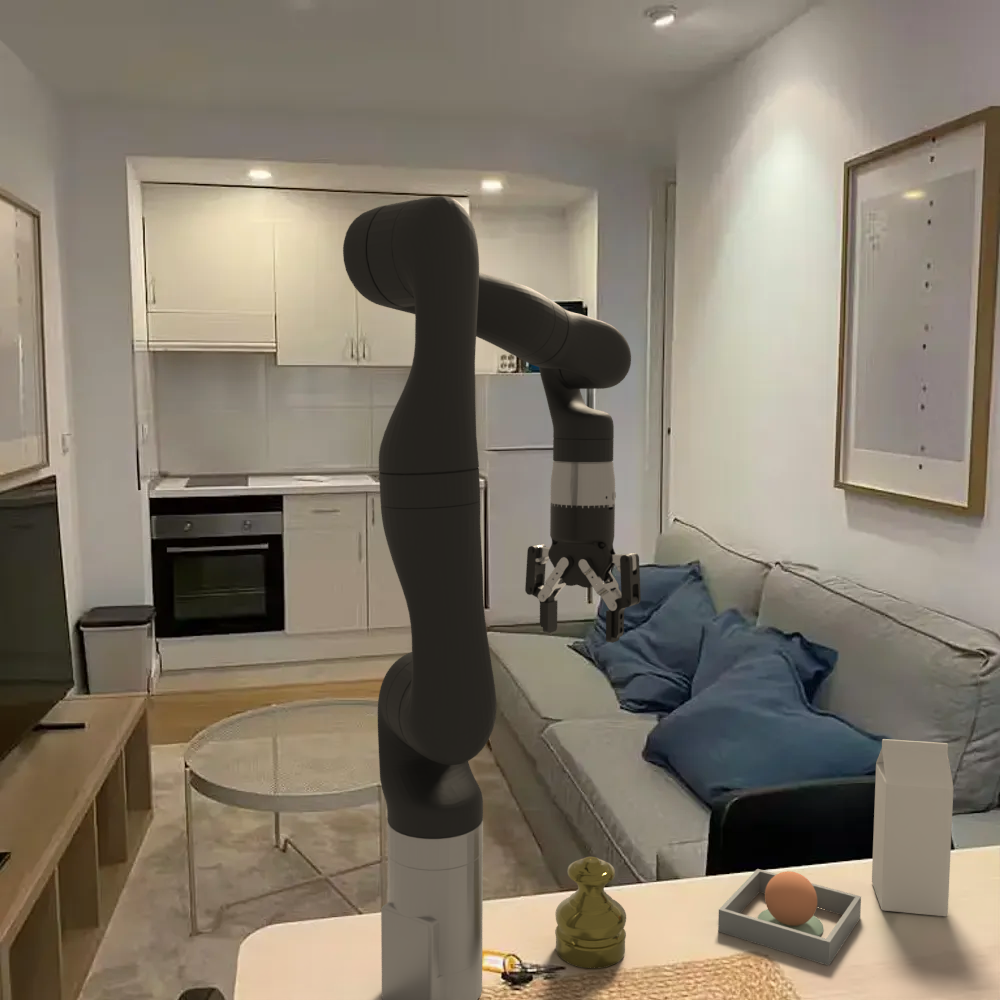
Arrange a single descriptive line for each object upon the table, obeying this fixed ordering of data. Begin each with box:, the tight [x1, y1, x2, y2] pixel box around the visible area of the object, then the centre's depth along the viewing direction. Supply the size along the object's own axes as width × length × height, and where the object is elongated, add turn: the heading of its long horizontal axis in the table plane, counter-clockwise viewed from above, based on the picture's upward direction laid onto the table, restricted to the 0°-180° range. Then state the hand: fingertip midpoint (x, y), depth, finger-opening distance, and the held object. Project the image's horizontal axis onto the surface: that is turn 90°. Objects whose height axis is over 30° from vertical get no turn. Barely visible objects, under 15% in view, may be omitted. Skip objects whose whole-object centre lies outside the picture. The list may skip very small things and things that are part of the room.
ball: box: [764, 870, 818, 926], centre depth 112 cm, size 6×6×6 cm
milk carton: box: [871, 738, 955, 917], centre depth 117 cm, size 7×7×19 cm
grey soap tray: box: [717, 868, 862, 966], centre depth 112 cm, size 12×12×2 cm
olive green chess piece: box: [554, 856, 627, 969], centre depth 106 cm, size 7×7×10 cm
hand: (580, 636), depth 119 cm, fingers open, 8 cm apart
